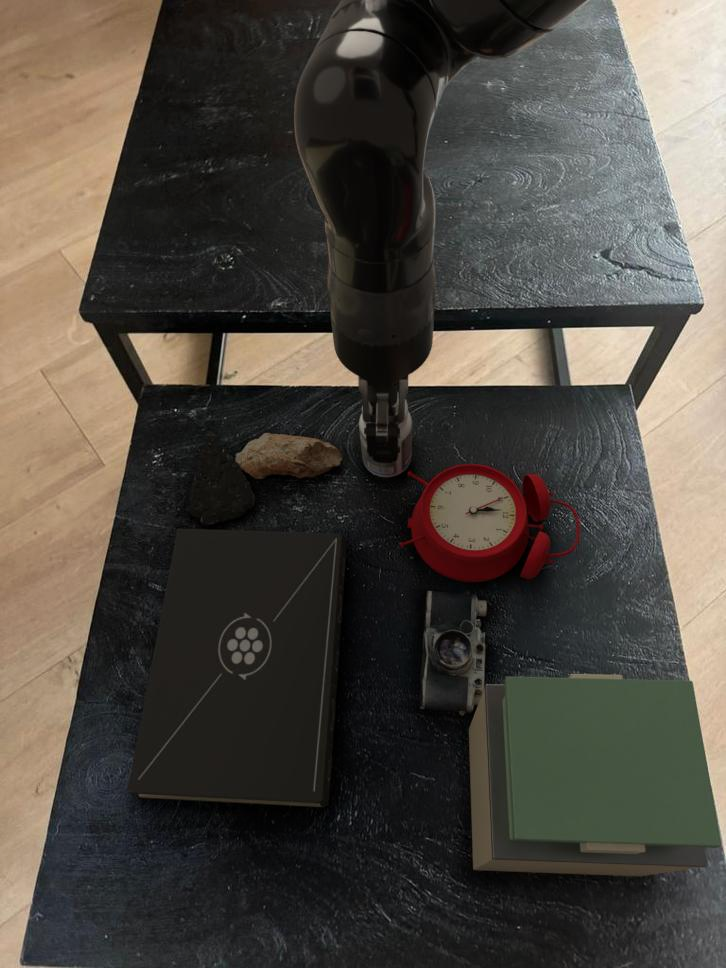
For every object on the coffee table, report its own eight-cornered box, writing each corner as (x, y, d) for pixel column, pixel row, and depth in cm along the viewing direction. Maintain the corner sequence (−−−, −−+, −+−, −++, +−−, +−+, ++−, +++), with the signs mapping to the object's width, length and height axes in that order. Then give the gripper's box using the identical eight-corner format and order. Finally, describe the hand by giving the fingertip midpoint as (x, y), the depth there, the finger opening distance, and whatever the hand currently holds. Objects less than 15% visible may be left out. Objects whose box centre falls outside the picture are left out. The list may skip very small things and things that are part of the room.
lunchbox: (667, 693, 48) (691, 674, 44) (694, 859, 43) (723, 854, 39) (496, 689, 48) (505, 670, 44) (505, 852, 44) (515, 846, 40)
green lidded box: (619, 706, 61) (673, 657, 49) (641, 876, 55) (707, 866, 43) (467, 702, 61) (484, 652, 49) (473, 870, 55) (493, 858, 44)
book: (329, 808, 58) (326, 803, 55) (138, 798, 59) (126, 792, 56) (347, 547, 68) (345, 533, 66) (185, 542, 69) (176, 527, 67)
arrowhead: (188, 528, 69) (178, 436, 74) (191, 531, 70) (180, 440, 75) (256, 511, 69) (242, 420, 74) (258, 515, 70) (243, 424, 75)
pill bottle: (393, 428, 74) (392, 375, 67) (421, 463, 72) (423, 412, 65) (352, 451, 73) (347, 400, 66) (379, 487, 71) (376, 438, 64)
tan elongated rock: (340, 491, 73) (346, 440, 74) (335, 483, 69) (342, 430, 70) (234, 480, 74) (242, 430, 75) (225, 472, 70) (233, 419, 71)
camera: (485, 598, 65) (491, 579, 62) (480, 720, 61) (486, 708, 57) (426, 592, 66) (428, 574, 62) (417, 713, 61) (418, 701, 57)
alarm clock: (404, 453, 69) (577, 447, 64) (418, 487, 74) (579, 484, 69) (392, 559, 64) (579, 560, 59) (408, 588, 69) (581, 591, 64)
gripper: (436, 383, 51) (427, 503, 65) (433, 230, 58) (426, 369, 72) (323, 383, 51) (340, 502, 66) (334, 230, 58) (348, 369, 73)
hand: (385, 432), depth 69 cm, fingers closed on pill bottle, 4 cm apart
